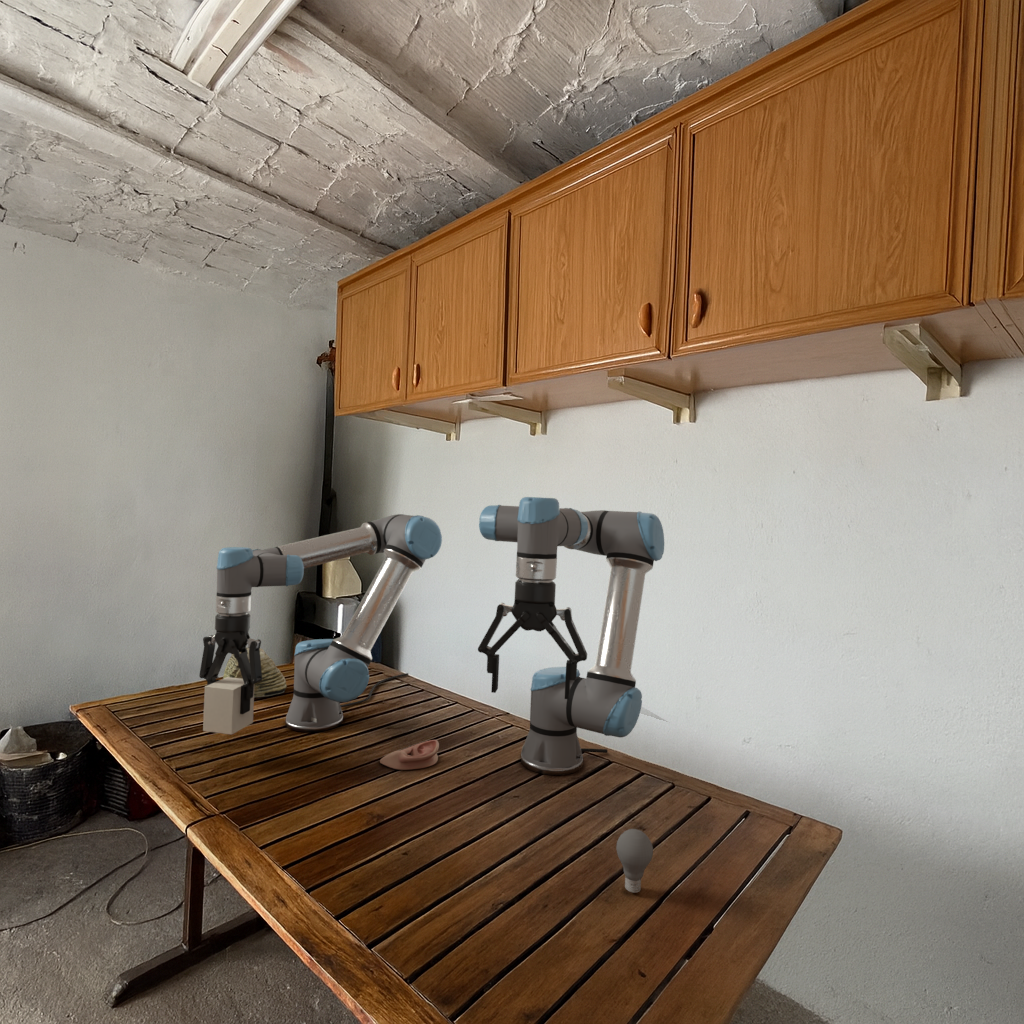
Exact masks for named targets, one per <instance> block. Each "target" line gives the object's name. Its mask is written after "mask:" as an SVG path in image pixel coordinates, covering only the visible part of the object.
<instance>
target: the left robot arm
mask: <svg viewBox="0 0 1024 1024" xmlns="http://www.w3.org/2000/svg"><path fill="white" fill-rule="evenodd" d="M442 542H443V536H442V533H441V528H440V527H439V525H438V523H437V522H436V521H435V520H433V519H432V518H430V517H427V516H424V515H418V514H417V515H410V514H404V513H403V514H402V513H398V514H393V515H392V514H391V515H388V516H385V517H381V518H378V519H374V520H371V521H366V522H363V523H362V524H361V525H360V527H355V528H352V529H347V530H342V531H337V532H333V533H330V534H324V535H321V536H317V537H312V538H307V539H304V540H299V541H294V542H290V543H285V544H282V545H277V546H274V547H269V548H264V549H261V548H260V549H259V548H256V549H252V548H251V547H243V546H229V547H228V546H227V547H222V548H221V549H220V550H219V551H218V556H217V564H216V594H215V595H216V596H215V613H217V614H216V615H215V619H214V630H215V634H214V635H213V634H209V635H207V636H204V637H203V638H202V642H203V650H202V658H201V662H200V669H199V678H200V679H203V680H205V681H206V686H207V685H210V684H212V683H214V682H217V681H219V680H220V679H219V678H220V676H219V674H220V672H221V669H222V667H223V664H224V662H225V660H226V657H227V655H228V654H231V655H232V654H234V657H235V658H236V659H237V662H238V665H239V668H240V671H241V675H242V678H243V681H244V685H242V686H241V702H240V714H244V713H246V712H248V711H250V699H251V698H253V691H254V684H256V683H258V682H260V681H262V671H261V660H260V648H261V645H262V640H261V639H259V638H257V639H254V638H251V636H250V634H249V633H250V632H249V631H250V628H251V614H250V612H251V611H252V589H253V588H261V587H262V588H263V587H265V588H266V587H288V586H289V587H290V586H296V585H299V584H300V583H301V582H302V581H303V578H304V574H305V573H304V572H305V571H304V570H305V569H307V568H308V569H309V568H312V567H316V566H321V565H323V564H327V563H331V562H335V561H339V560H343V559H346V558H351V557H355V556H359V555H362V554H368V555H370V556H372V555H373V556H374V555H376V554H382V553H383V555H384V559H383V561H382V563H381V565H380V566H379V568H378V570H377V572H376V574H375V575H374V577H373V579H372V581H371V583H370V585H369V586H368V588H367V590H366V592H365V593H364V595H363V597H362V599H361V600H360V602H359V604H358V606H357V608H356V609H355V612H353V615H352V616H351V619H350V620H349V622H348V624H347V625H346V628H345V630H343V633H342V634H341V636H339V637H336V638H323V639H322V638H319V639H307V640H303V641H299V642H297V644H296V645H295V650H294V655H293V656H294V672H293V695H292V696H293V697H292V699H291V702H290V704H289V708H288V711H287V713H286V715H285V726H286V728H287V729H289V730H291V731H294V732H295V731H296V732H301V733H316V732H325V731H329V730H332V729H335V728H337V727H339V726H340V725H342V723H343V722H344V714H343V709H342V708H346V707H350V706H353V705H359V704H362V703H365V702H366V701H368V700H370V699H371V697H372V694H373V692H374V690H375V689H376V688H377V686H379V685H381V684H382V683H384V682H387V681H390V680H394V679H397V678H401V677H407V676H409V672H406V673H402V674H397V675H393V676H390V677H387V678H384V679H381V680H379V681H378V682H376V683H375V684H373V686H372V688H371V689H370V691H369V693H368V696H367V697H366V698H363V699H360V700H357V701H354V700H355V699H358V697H360V696H361V695H362V694H363V693H364V692H365V690H366V689H367V687H368V684H369V682H370V674H369V673H370V671H369V666H370V664H371V663H372V661H373V656H372V653H371V652H372V649H373V647H374V645H375V643H376V641H377V639H378V637H379V636H380V634H381V632H382V630H383V628H384V627H385V625H386V623H387V621H388V619H389V617H390V615H391V614H392V612H393V610H394V608H395V606H396V604H397V602H398V600H399V599H400V597H401V595H402V593H403V592H404V590H405V587H406V586H407V584H408V582H409V580H410V578H411V576H412V575H413V573H415V572H418V571H420V570H421V569H422V567H423V565H424V564H425V562H426V560H429V559H431V558H434V557H435V556H436V555H437V554H438V553H439V552H440V549H441V547H442ZM216 644H217V648H216ZM246 647H247V648H249V659H250V662H249V659H248V656H247V654H248V652H247V648H246ZM240 652H241V653H240ZM351 701H353V702H351ZM341 703H344V704H341Z"/></svg>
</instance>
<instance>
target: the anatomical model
mask: <svg viewBox="0 0 1024 1024" xmlns="http://www.w3.org/2000/svg"><path fill="white" fill-rule="evenodd" d="M439 748H440V743H439V741H438V740H437V739H431V740H430V739H429V740H426V741H423V742H419V743H416V744H414V745H412V746H409V747H406V748H403V749H400V750H399V749H398V750H395V751H392V752H390V753H388V754H386V755H384V756H383V757H382V758H380V760H379V763H380V764H382V765H384V766H385V767H388V768H390V769H394V770H399V771H400V770H401V771H403V770H404V771H405V770H419V769H424V768H428V767H431V766H433V765H435V764H437V763H438V760H439V756H438V754H437V753H438V752H439Z"/></svg>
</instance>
